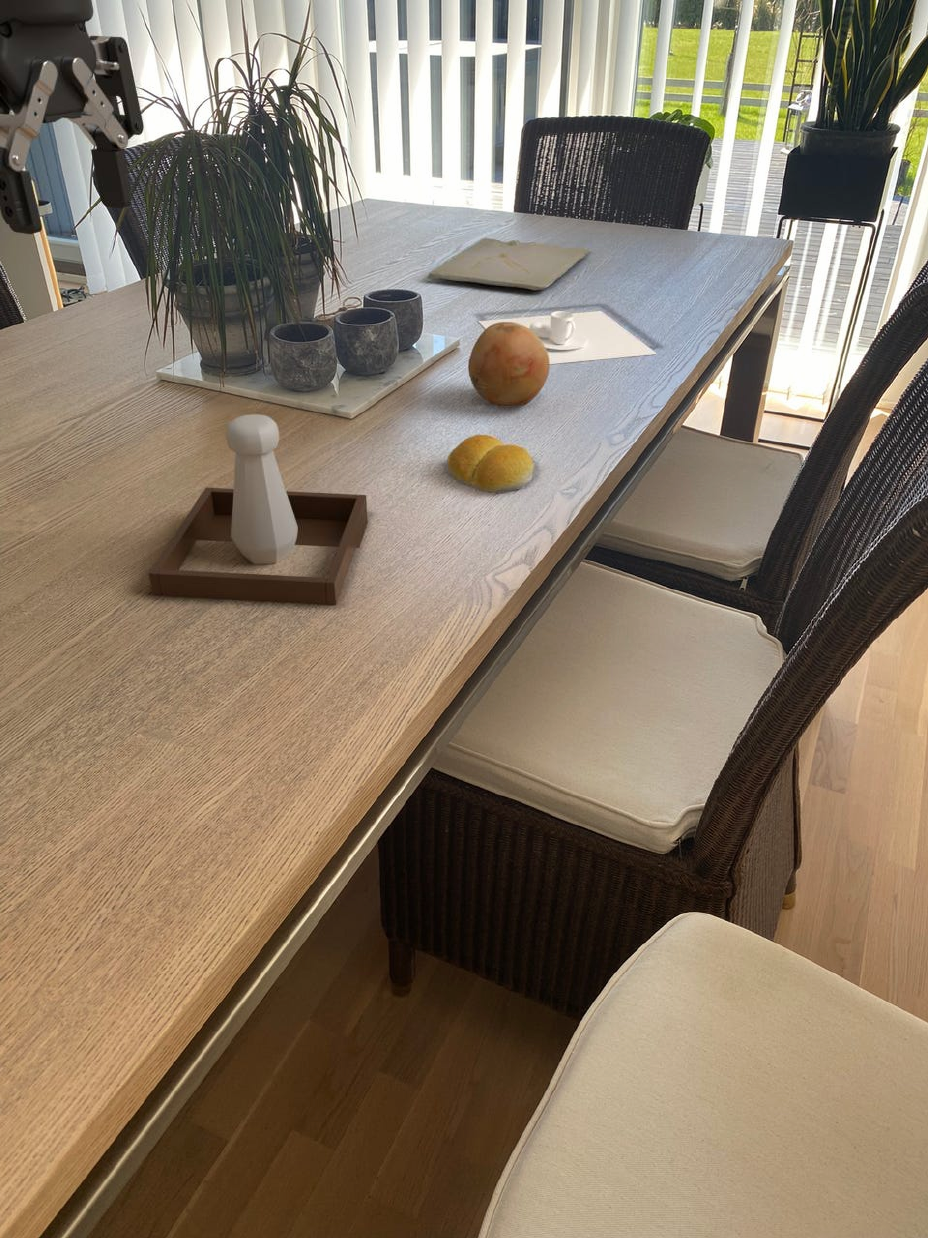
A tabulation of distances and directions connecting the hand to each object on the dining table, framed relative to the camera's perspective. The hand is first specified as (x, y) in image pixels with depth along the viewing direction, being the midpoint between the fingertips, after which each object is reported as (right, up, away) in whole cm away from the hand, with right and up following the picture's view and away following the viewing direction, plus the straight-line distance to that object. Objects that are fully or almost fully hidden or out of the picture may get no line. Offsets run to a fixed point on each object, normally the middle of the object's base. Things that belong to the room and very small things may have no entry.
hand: (73, 218), depth 65 cm
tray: (+9, -22, +21) cm, 32 cm away
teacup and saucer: (+41, +13, +72) cm, 84 cm away
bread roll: (+30, -13, +35) cm, 48 cm away
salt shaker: (+9, -22, +21) cm, 31 cm away
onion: (+32, -1, +52) cm, 61 cm away
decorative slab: (+35, +34, +101) cm, 113 cm away
